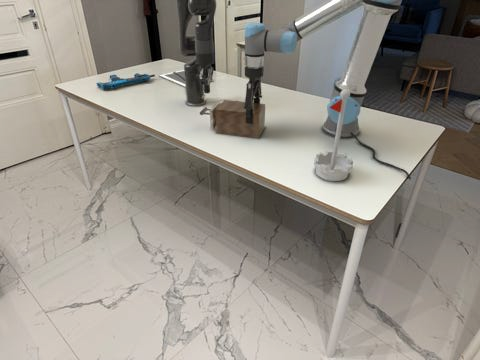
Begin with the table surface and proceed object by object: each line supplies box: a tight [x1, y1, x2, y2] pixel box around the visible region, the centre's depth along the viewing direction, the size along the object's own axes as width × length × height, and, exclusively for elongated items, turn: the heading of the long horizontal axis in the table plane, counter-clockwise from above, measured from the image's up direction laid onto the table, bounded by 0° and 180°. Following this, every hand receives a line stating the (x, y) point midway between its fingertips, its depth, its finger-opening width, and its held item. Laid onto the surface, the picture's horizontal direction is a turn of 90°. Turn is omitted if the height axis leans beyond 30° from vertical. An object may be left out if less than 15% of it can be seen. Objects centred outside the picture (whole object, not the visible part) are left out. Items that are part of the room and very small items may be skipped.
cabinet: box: [215, 99, 266, 139], centre depth 148 cm, size 19×12×11 cm, turn 74°
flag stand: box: [313, 89, 354, 182], centre depth 112 cm, size 13×13×30 cm
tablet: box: [158, 69, 214, 88], centre depth 216 cm, size 32×20×1 cm, turn 41°
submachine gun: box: [95, 72, 156, 91], centre depth 209 cm, size 34×4×25 cm
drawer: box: [199, 101, 221, 131], centre depth 149 cm, size 23×10×9 cm, turn 74°
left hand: (207, 92), depth 146 cm, fingers closed
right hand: (253, 117), depth 146 cm, fingers closed on cabinet, 12 cm apart
